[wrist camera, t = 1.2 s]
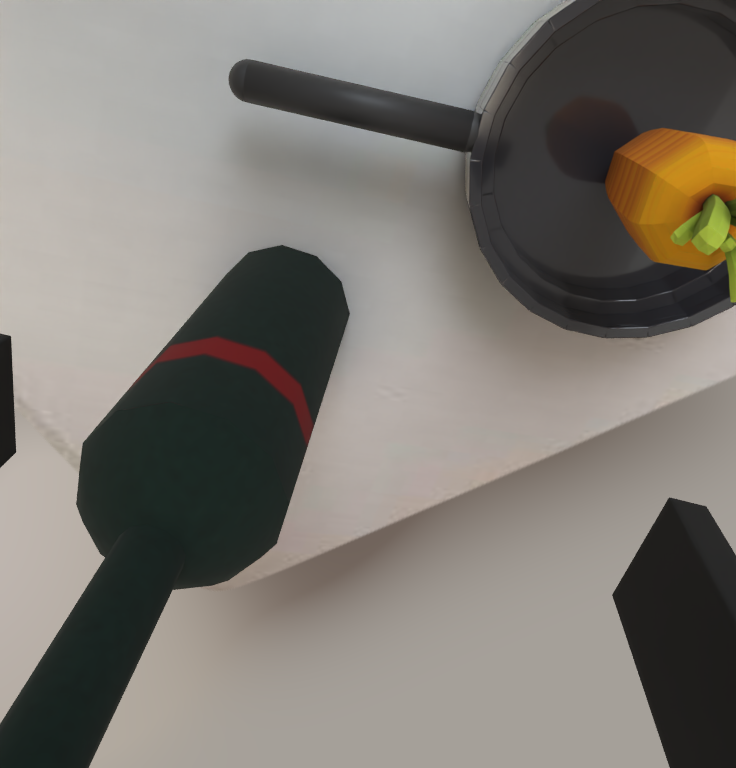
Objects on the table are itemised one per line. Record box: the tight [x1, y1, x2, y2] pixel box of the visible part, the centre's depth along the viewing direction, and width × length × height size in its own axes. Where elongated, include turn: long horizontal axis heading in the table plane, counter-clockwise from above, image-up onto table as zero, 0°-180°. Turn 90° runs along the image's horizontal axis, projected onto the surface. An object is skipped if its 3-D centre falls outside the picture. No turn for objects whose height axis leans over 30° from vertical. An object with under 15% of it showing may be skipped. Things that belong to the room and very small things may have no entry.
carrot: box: [605, 128, 736, 303], centre depth 26 cm, size 5×5×15 cm
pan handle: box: [229, 59, 480, 153], centre depth 29 cm, size 2×12×2 cm, turn 79°
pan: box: [465, 0, 736, 338], centre depth 31 cm, size 16×16×4 cm
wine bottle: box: [0, 245, 349, 768], centre depth 25 cm, size 8×10×30 cm
